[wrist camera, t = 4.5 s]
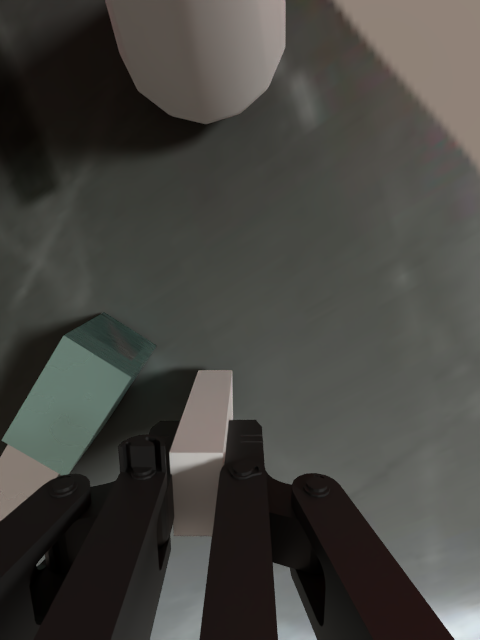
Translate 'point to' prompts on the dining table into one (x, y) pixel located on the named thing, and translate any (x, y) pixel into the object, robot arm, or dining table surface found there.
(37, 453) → the tongs jaw
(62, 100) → the dining table surface
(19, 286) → the dining table surface
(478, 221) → the dining table surface
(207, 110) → the salt shaker
